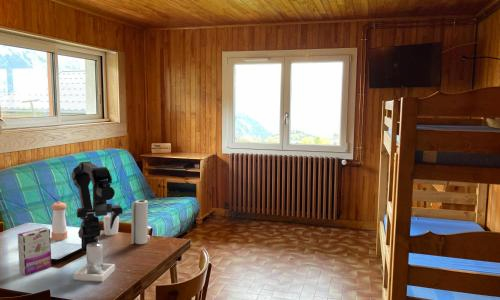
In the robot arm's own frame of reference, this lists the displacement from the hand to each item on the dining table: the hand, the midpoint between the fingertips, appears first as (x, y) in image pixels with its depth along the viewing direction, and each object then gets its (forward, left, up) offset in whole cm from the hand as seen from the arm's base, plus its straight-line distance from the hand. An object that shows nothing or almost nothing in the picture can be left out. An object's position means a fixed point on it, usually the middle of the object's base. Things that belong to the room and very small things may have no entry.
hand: (99, 230), depth 176 cm
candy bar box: (-20, -16, -13) cm, 29 cm away
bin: (+6, -17, -13) cm, 22 cm away
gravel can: (+6, -17, -12) cm, 22 cm away
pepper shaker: (-32, +22, -13) cm, 41 cm away
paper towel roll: (+10, +23, -13) cm, 28 cm away
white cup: (-10, +34, -13) cm, 38 cm away
